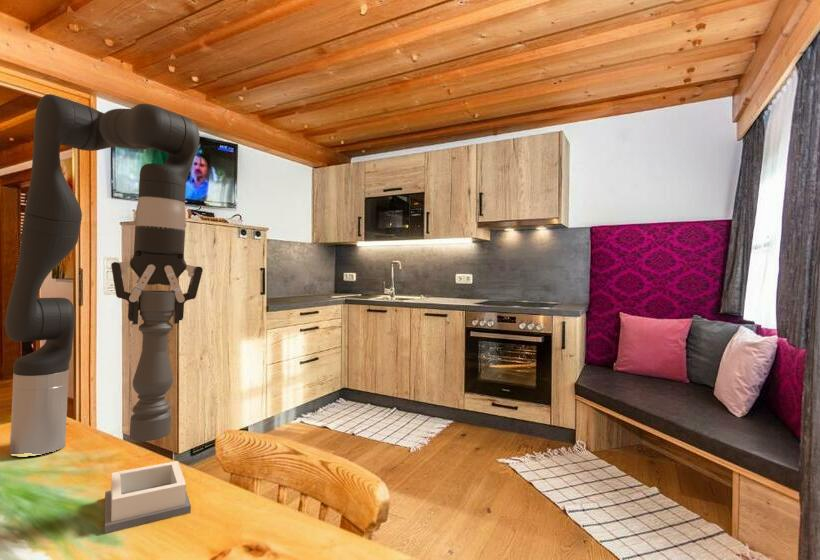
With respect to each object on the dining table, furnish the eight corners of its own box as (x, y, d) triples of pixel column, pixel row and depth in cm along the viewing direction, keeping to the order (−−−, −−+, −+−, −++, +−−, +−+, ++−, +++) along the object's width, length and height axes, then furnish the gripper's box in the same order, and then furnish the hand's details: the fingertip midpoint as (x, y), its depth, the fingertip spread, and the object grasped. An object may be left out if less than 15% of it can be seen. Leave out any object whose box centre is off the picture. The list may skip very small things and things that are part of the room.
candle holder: (121, 435, 74) (129, 290, 73) (157, 425, 79) (164, 290, 79) (143, 444, 71) (150, 292, 70) (178, 432, 76) (185, 292, 76)
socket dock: (105, 498, 76) (106, 472, 76) (180, 482, 83) (181, 458, 83) (104, 533, 67) (106, 503, 67) (190, 512, 74) (192, 485, 73)
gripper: (202, 231, 82) (197, 320, 82) (110, 222, 73) (105, 321, 74) (210, 230, 76) (204, 325, 76) (110, 220, 67) (105, 327, 67)
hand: (155, 323), depth 75 cm, fingers closed on candle holder, 5 cm apart
